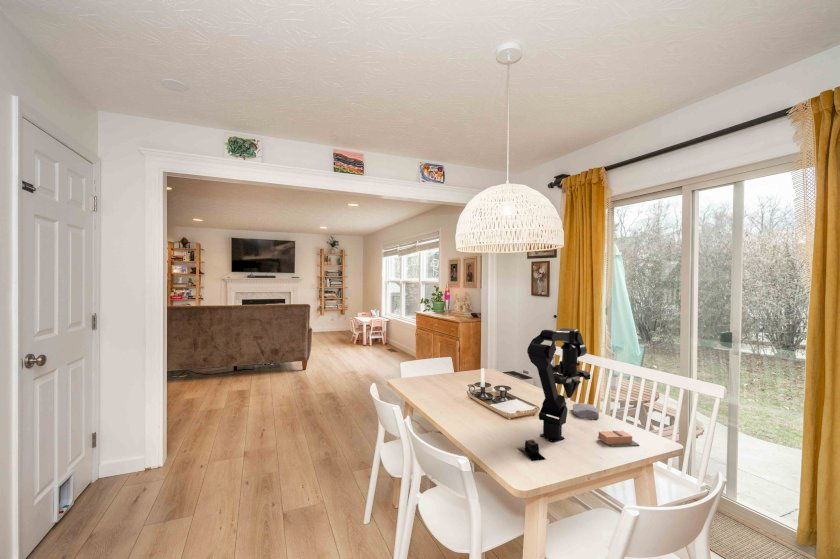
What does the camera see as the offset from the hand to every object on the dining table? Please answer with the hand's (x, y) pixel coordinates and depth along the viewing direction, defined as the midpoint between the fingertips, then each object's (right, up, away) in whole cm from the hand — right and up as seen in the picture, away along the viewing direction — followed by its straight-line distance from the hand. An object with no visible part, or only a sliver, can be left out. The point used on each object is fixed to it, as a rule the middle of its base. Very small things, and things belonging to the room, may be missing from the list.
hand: (569, 397), depth 151 cm
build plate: (-22, -13, -24) cm, 35 cm away
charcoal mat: (+13, -12, -13) cm, 22 cm away
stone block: (+13, -13, +16) cm, 24 cm away
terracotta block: (+7, -11, -14) cm, 18 cm away
